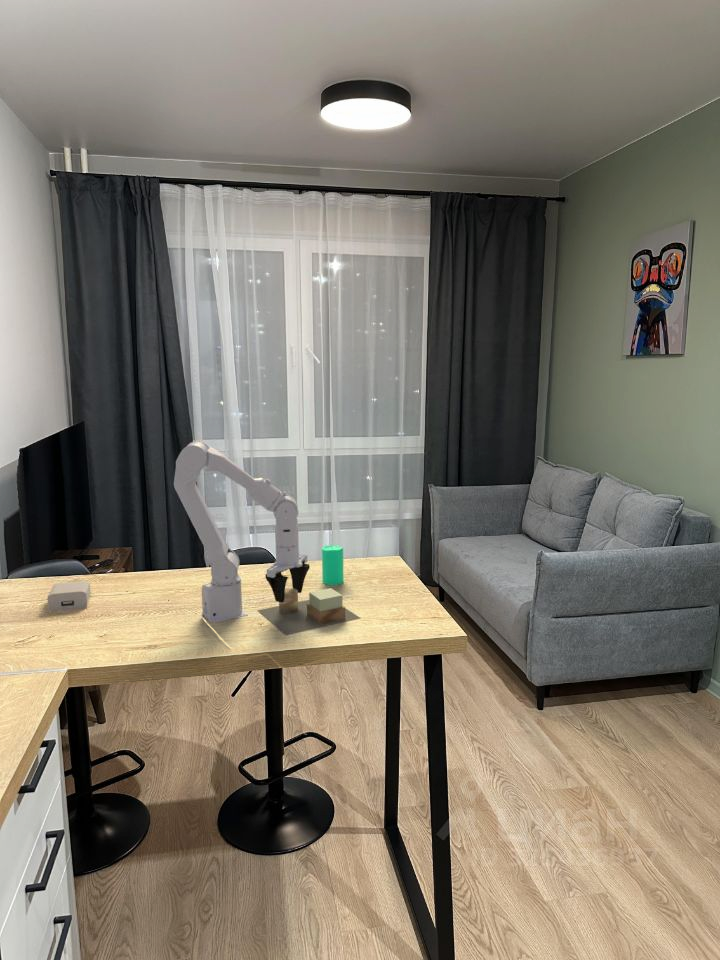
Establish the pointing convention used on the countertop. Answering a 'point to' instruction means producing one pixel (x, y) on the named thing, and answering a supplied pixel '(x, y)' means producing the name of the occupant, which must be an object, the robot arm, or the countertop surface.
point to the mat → (298, 619)
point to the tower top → (325, 599)
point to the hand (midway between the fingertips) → (288, 596)
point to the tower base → (325, 614)
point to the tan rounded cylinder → (289, 601)
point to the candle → (332, 565)
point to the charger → (69, 596)
